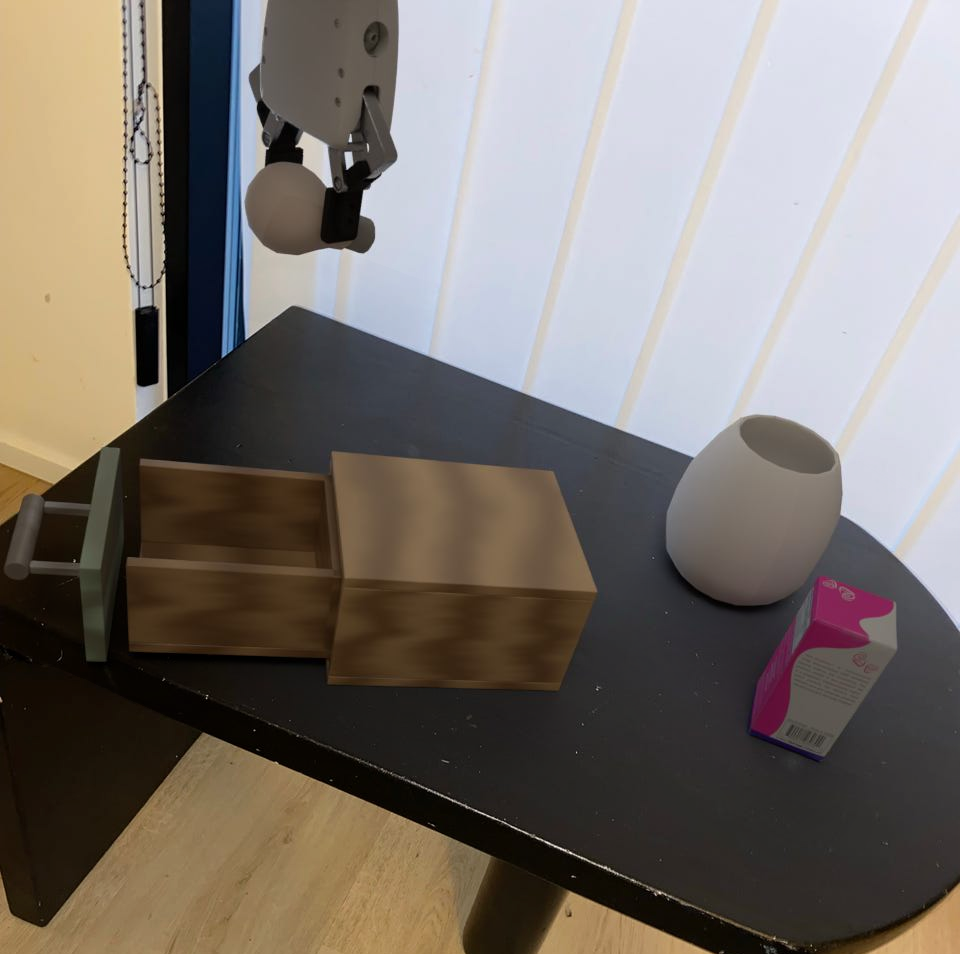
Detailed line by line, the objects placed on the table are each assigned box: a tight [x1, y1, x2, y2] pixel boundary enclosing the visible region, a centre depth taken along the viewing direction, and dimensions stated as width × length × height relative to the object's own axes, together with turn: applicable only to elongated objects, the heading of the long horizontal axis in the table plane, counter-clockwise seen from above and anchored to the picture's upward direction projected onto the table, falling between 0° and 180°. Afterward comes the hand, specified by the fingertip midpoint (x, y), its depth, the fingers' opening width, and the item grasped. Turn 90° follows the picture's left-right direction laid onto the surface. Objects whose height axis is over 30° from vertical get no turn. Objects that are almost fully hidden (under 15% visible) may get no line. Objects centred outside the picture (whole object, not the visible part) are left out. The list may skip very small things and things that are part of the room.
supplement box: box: [747, 574, 898, 763], centre depth 69 cm, size 6×6×12 cm
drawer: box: [3, 446, 342, 663], centre depth 65 cm, size 20×12×8 cm, turn 99°
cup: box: [665, 413, 844, 606], centre depth 81 cm, size 13×13×14 cm
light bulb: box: [244, 162, 376, 256], centre depth 76 cm, size 7×7×11 cm
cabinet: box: [324, 450, 598, 692], centre depth 70 cm, size 17×14×10 cm
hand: (309, 218), depth 76 cm, fingers closed on light bulb, 6 cm apart
